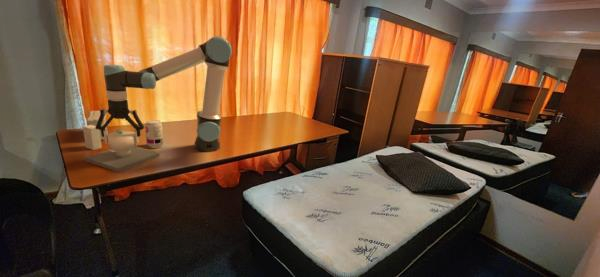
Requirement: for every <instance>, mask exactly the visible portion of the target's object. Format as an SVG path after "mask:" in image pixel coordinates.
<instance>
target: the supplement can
mask: <svg viewBox="0 0 600 277" xmlns="http://www.w3.org/2000/svg"><path fill="white" fill-rule="evenodd" d="M144 124H145V125H144V128H145V138H146V139H145V140H146V141H145V142H146V146H147V147H148V148H149V149H159V148H162V146H163V145H164V136H163V123H162V121H161V120H158V119H150V120H146V122H145V123H144Z"/></svg>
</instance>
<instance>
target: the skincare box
mask: <svg viewBox="0 0 600 277" xmlns="http://www.w3.org/2000/svg"><path fill="white" fill-rule="evenodd" d="M95 127H96V126H94V125H87V124H86V125H83V126H82V131H83V137H84V142H85V148H86V149H89V150H92V151H95V150H99V149H102V140H101V138H100V132H99V129H96V128H95Z"/></svg>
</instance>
